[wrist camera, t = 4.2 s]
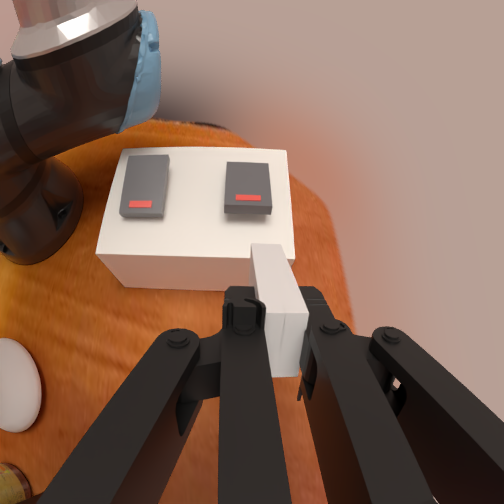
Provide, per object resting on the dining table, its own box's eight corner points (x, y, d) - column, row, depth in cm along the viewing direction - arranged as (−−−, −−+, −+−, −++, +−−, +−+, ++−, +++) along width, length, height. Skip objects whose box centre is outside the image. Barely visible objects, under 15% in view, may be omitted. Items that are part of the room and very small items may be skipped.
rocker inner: (163, 217, 26) (161, 213, 25) (122, 217, 26) (118, 213, 25) (170, 159, 27) (168, 154, 26) (131, 160, 27) (128, 155, 26)
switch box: (278, 291, 34) (296, 257, 25) (124, 287, 33) (93, 251, 24) (274, 197, 39) (286, 146, 30) (140, 195, 38) (122, 144, 29)
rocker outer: (271, 214, 26) (272, 205, 25) (223, 213, 25) (224, 203, 24) (267, 171, 29) (268, 162, 28) (226, 169, 29) (226, 160, 28)
